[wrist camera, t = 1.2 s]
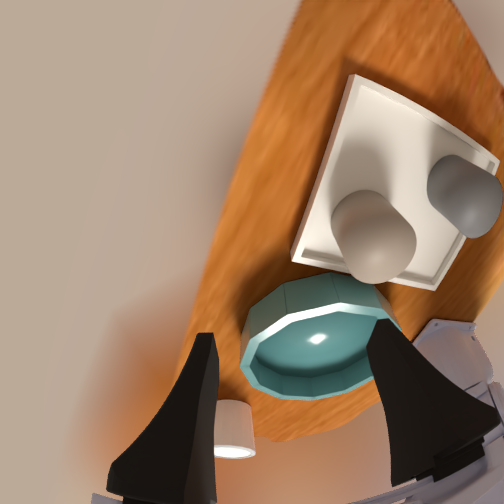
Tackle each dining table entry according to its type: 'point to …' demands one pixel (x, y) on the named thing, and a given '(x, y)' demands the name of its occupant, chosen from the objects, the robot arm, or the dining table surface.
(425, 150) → the parts tray
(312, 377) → the bowl
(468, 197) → the charcoal stone
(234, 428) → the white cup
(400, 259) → the brown stone
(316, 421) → the dining table surface
